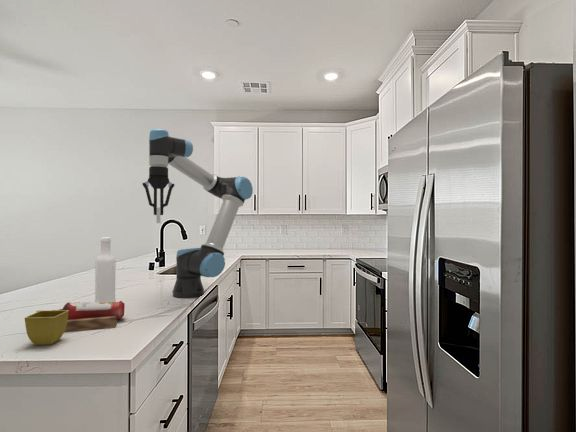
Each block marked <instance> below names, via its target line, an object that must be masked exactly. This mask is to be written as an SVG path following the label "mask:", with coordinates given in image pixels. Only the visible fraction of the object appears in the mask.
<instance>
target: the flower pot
mask: <svg viewBox="0 0 576 432" xmlns="http://www.w3.org/2000/svg"><path fill="white" fill-rule="evenodd" d="M38 311H39V312H34V313H32V314H29V315H27V316H25V317H24V325H25V330H26V335H27V337H28V340H30V342H31V343H32V344H33V345H35V346H41V345H42V346H43V345H53V344H55V342H57V341H60V339H61V338H62V337H63V335H64V333H65V332H64V331H65V329H66V326H67V320H68V313H69V310H58V309H51V310H43V311H42V310H38Z"/></svg>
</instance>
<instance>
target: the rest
mask: <svg viewBox="0 0 576 432" xmlns="http://www.w3.org/2000/svg"><path fill="white" fill-rule="evenodd" d="M118 320H119V319H118V318H116V316H108V317H96V318H84V319H72V320H67V326H66V329H65V331H64V333H70V332H79V331H80V332H81V331H91V330H101V329H102V330H103V329H111V328H112V329H113V328H117V323H118Z"/></svg>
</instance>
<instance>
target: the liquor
mask: <svg viewBox="0 0 576 432" xmlns="http://www.w3.org/2000/svg"><path fill="white" fill-rule="evenodd" d="M57 310H69V313H68V320H72V319H84V318H96V317H108V316H116V318H118V320H122V318H123V317H124V316H125V303H124V302H123V301H122V300H119V301H116V302H95V301H94V302H93V301H92V302H87V301H84V302H80V301H79V302H77V301H76V302H75V301H74V302H71V301H70V302H66V304H64V306H63V307H62V308H59V309H57ZM39 311H40V310H36V312H39ZM41 311H44V310H41ZM36 312H35V313H36Z"/></svg>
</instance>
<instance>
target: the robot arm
mask: <svg viewBox="0 0 576 432" xmlns="http://www.w3.org/2000/svg"><path fill="white" fill-rule="evenodd" d="M148 143H149V147H148V151H149V155H148V157H149V158H148V159H149V160H148V161H149V162H148V165H149V167H148V168H149V169H148V178H147V180H146V181H145V182H142V186H143V188H144V189H145V193H146V197H147V202H148V205H149V206H150V207H152V208H153V216H156V224H161V216H163V215H164V208H165V207H168V205H169V202H170V198H171V194H172V191H173V189H174V187H175V183H172V182H171V181H170V179H169V165H170V166H171V167H173V168H175V169H176V170H177V171H178V172H180V173H182V174H184V175H185V176H186V177H188V178H190V179H191V180H193V182H196V183H198V185H201V186H202V187H203V190H204V191H206V192H208V193H209V194H211V195H213V196H214V197H216V198H219V199H221V200H222V203H221V205H220V208H219V210H218V213H217V215H216V218H215V220H214V222H213V225H212V226H211V229H210V233H209V235H208V237H207V240H206V242H205V243H202V244H201V246H200V247H195V248H194V247H193V248H183V249H178V250H177V251H176V258H175V259H176V261H175V262H176V281H175V284H174V286H173V289H172V296H173V297H175V298H179V299H180V298H183V299H187V298H188V299H190V298H197V297H202V296H204V295H205V288H204V285H203V282H202V279H201V277H204V278H216V277H219V276H220V275H221V274H222V272H223V271H224V269H225V267H226V259H225V252H224V246H225V245H226V242H227V238H228V236H229V234H230V232H231V228H232V226H233V225H234V224H233V223H234V221H235V218H236V216H237V214H238V211H239V208H241V207H242V206H244V204H245V201H246V200H249V199H250V198H251V197H252V195H253V190H254V189H253V185H252V182H251V180H250V179H248V177H246V176H240V175H239V176H234V177H232V176H231V177H222V176H221V177H220V176H218V175H216V174H214V173H210V172H208V171H207V170H205V169H204V168H203V167H201V166H200V165H199V164H197V163H195V162H194V161H192V160H191V159H190V158H189V157H190V156H192V154H193V152H194V144H193V143H192V142H191V140H190V141H189V140H188V139H185V138H184V139H182V138H178V137H172V136H170V135H169V131H168V130H166V129H162V128H153V129H150V131H149V137H148ZM149 186H151V188H152V189H153V201H152V197H151V194H150V190H149ZM167 186H168V191H167V194H166V198H165V203H164V189H166V187H167ZM158 189H159V196H160V197H159V199H160V200H159V202H160V203H159V205H160V206H159V207H158Z"/></svg>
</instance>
